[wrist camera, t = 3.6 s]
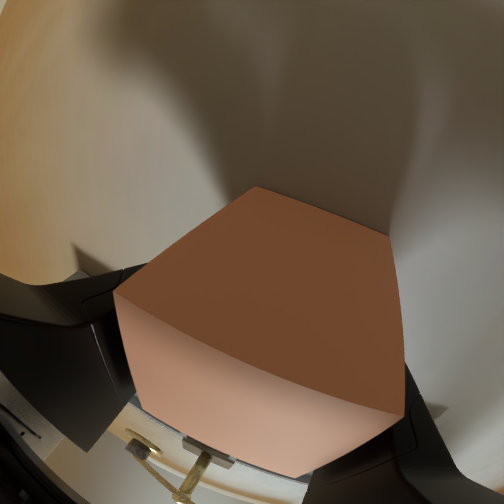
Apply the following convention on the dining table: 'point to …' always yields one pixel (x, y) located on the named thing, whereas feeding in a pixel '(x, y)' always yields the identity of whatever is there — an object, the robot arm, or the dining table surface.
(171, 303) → the block
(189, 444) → the balance
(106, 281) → the robot arm
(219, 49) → the dining table surface
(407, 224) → the dining table surface
